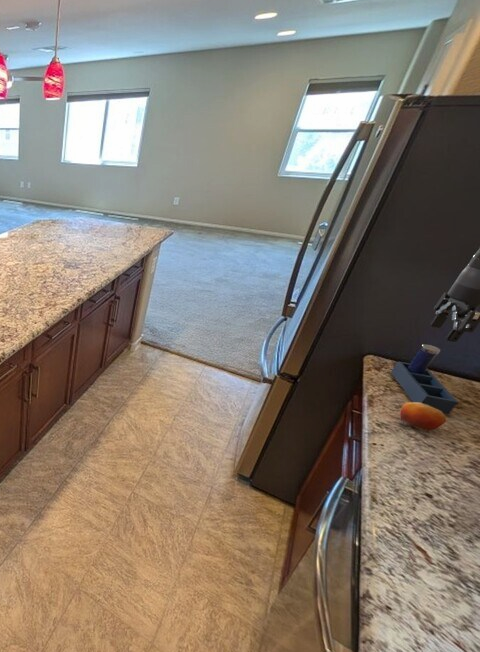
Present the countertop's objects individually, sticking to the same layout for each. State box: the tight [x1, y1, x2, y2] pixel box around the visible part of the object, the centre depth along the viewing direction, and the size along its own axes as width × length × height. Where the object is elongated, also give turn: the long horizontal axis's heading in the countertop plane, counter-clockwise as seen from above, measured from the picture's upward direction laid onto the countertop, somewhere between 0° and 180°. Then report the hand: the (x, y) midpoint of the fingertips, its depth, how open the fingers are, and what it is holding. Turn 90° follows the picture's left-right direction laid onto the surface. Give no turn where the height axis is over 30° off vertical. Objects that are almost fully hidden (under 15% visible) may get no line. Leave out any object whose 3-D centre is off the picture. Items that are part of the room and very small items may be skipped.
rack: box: [390, 361, 459, 415], centre depth 117 cm, size 7×18×4 cm, turn 155°
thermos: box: [407, 344, 441, 374], centre depth 119 cm, size 4×4×12 cm
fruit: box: [399, 401, 447, 434], centre depth 105 cm, size 8×8×8 cm
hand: (442, 333), depth 113 cm, fingers open, 8 cm apart
